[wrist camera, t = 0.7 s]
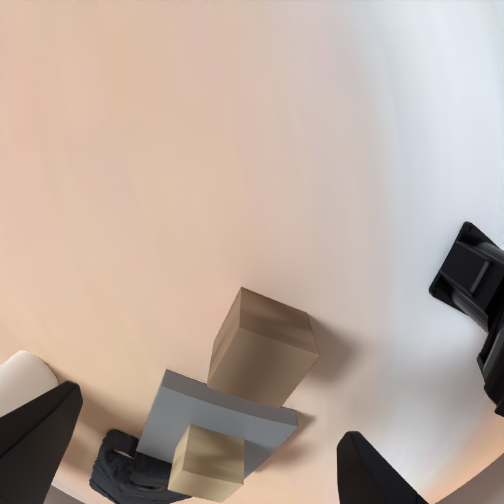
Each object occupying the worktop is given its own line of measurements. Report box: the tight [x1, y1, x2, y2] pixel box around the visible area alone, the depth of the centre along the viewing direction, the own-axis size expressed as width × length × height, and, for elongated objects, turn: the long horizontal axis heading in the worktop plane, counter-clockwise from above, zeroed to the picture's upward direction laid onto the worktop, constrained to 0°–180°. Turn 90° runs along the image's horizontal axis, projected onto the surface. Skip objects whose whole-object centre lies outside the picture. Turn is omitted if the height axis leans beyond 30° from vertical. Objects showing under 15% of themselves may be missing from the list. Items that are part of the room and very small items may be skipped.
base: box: [136, 369, 298, 479], centre depth 24 cm, size 12×12×2 cm
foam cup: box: [0, 350, 59, 417], centre depth 17 cm, size 10×9×13 cm
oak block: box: [168, 424, 244, 502], centre depth 21 cm, size 5×5×5 cm
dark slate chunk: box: [89, 430, 193, 504], centre depth 28 cm, size 15×22×5 cm
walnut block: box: [207, 287, 320, 408], centre depth 19 cm, size 5×5×5 cm
